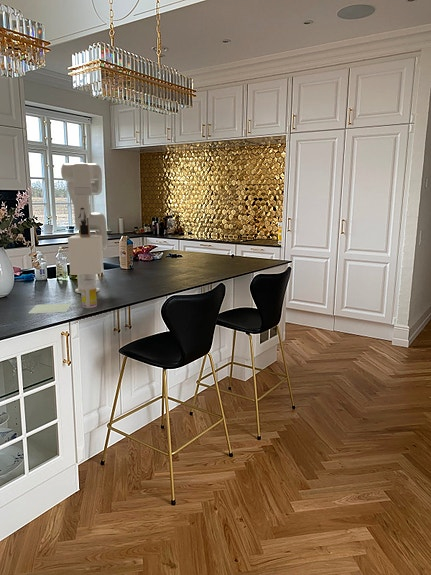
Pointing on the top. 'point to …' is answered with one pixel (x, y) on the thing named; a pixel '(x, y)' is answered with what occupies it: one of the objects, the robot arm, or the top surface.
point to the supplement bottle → (88, 294)
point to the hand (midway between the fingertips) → (85, 233)
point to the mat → (50, 308)
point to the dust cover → (85, 254)
